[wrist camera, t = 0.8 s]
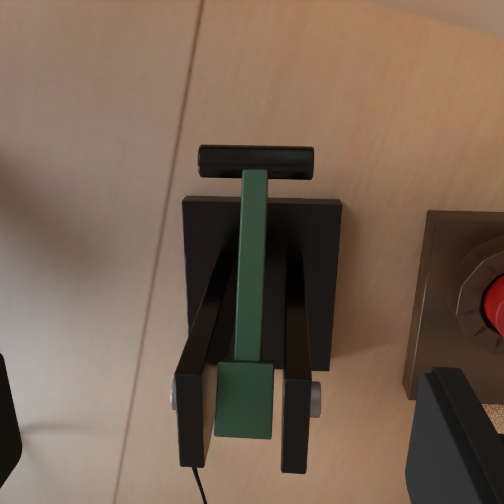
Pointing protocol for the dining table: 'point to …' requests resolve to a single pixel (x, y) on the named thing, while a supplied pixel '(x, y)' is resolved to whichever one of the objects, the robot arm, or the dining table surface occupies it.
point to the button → (495, 304)
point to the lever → (250, 282)
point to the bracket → (274, 313)
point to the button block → (458, 302)
